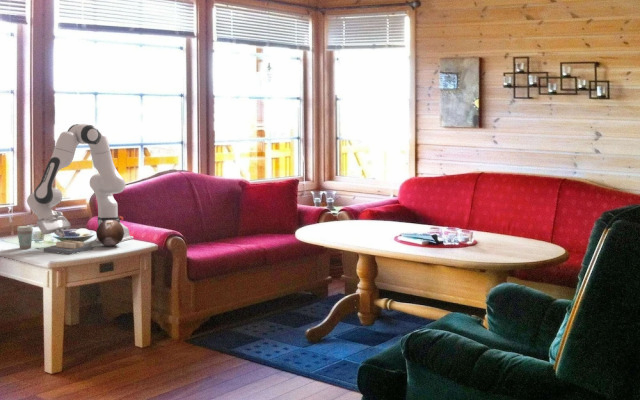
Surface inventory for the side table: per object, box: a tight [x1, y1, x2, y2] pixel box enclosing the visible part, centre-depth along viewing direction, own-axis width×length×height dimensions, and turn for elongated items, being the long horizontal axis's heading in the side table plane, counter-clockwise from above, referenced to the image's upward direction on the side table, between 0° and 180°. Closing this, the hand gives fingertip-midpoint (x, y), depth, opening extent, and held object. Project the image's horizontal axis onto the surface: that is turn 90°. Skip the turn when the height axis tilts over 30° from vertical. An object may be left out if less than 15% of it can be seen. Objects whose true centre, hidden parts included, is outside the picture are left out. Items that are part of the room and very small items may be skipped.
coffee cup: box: [16, 225, 34, 250], centre depth 449 cm, size 8×8×12 cm
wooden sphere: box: [95, 220, 124, 247], centre depth 459 cm, size 15×15×15 cm
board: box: [42, 244, 93, 255], centre depth 445 cm, size 18×18×2 cm
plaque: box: [55, 239, 85, 249], centre depth 444 cm, size 8×3×12 cm
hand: (63, 236), depth 445 cm, fingers closed
